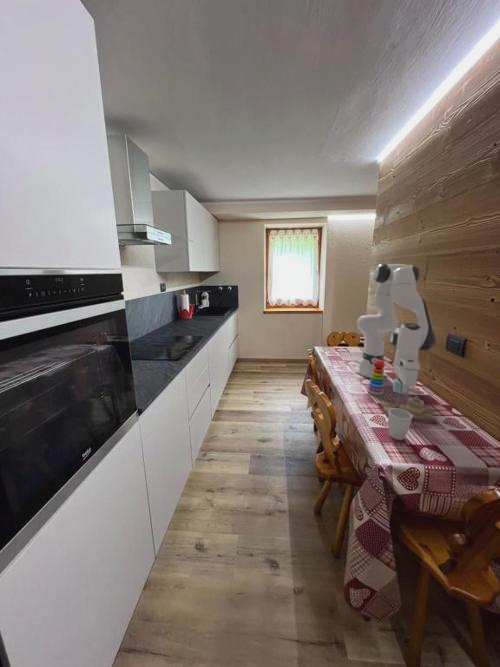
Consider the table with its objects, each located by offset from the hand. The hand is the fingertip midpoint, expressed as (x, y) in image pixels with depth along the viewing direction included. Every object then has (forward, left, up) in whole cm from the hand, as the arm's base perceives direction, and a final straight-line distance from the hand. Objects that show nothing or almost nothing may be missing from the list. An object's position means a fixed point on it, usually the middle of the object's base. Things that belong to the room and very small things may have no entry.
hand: (401, 387), depth 123 cm
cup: (+22, -6, -12) cm, 26 cm away
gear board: (0, +4, -12) cm, 13 cm away
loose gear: (0, 0, -2) cm, 2 cm away
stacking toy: (-19, -6, -12) cm, 23 cm away
